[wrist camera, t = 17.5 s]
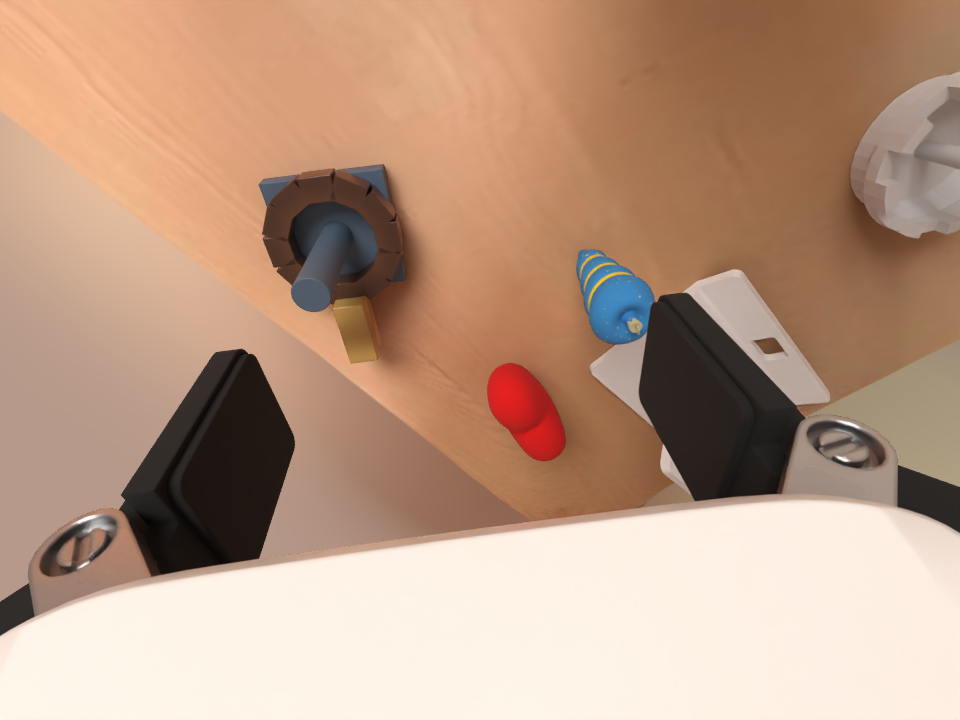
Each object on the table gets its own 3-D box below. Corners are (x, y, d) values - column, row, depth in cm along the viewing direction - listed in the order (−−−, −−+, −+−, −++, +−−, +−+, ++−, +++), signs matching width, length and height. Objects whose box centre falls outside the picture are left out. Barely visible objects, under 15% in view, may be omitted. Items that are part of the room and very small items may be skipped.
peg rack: (263, 178, 38) (203, 233, 28) (383, 163, 38) (367, 212, 28) (302, 287, 44) (264, 364, 34) (406, 273, 44) (399, 346, 34)
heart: (560, 395, 55) (582, 458, 47) (521, 415, 56) (536, 480, 48) (511, 327, 49) (528, 386, 41) (469, 351, 50) (476, 413, 42)
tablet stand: (694, 460, 64) (766, 578, 50) (586, 367, 53) (641, 487, 39) (819, 382, 57) (942, 494, 44) (726, 257, 46) (853, 354, 32)
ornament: (561, 282, 46) (608, 373, 34) (549, 236, 43) (596, 317, 31) (611, 265, 45) (678, 352, 33) (603, 217, 42) (672, 292, 30)
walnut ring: (249, 178, 36) (233, 192, 34) (386, 161, 37) (383, 172, 34) (314, 348, 46) (306, 369, 43) (422, 333, 46) (422, 354, 43)
